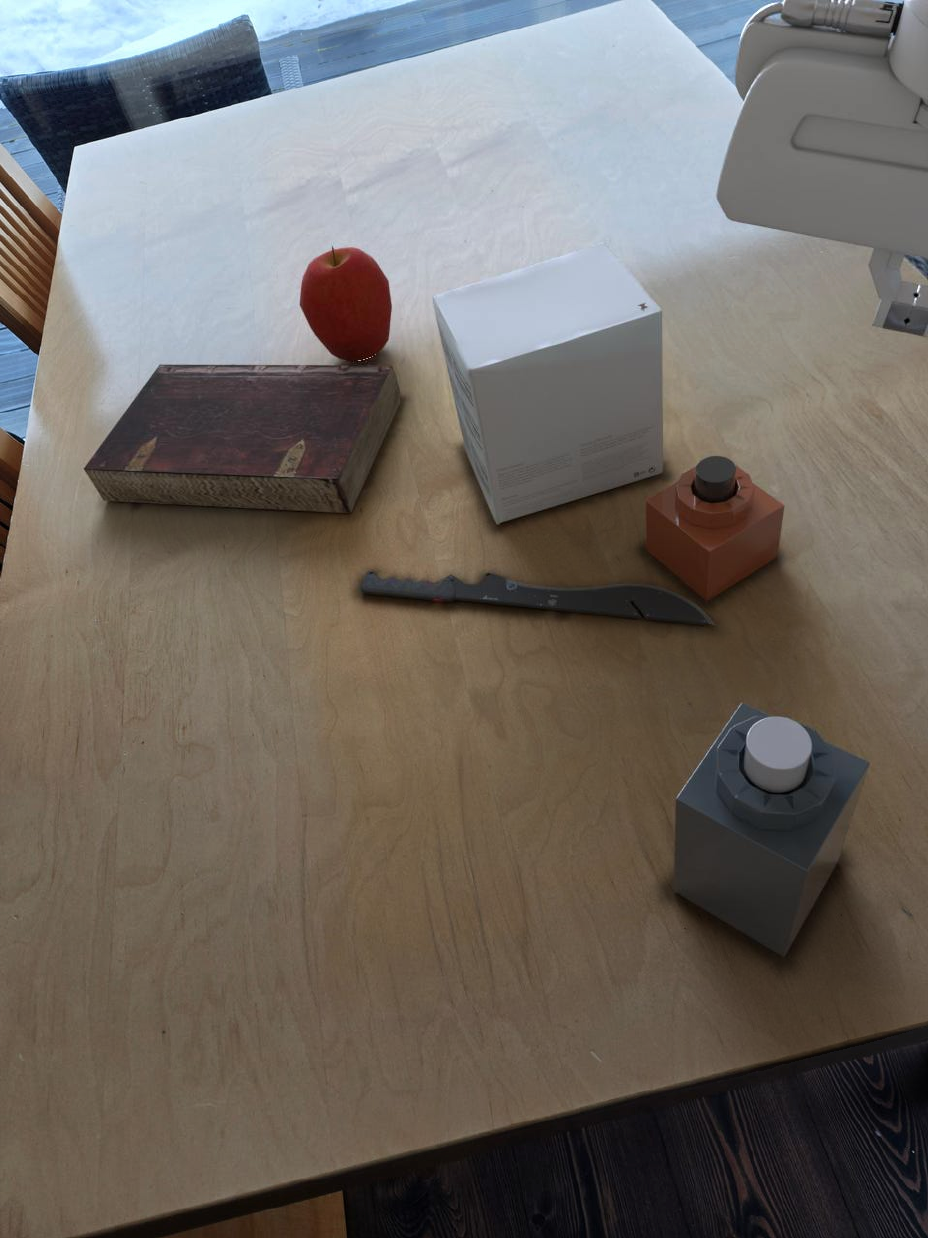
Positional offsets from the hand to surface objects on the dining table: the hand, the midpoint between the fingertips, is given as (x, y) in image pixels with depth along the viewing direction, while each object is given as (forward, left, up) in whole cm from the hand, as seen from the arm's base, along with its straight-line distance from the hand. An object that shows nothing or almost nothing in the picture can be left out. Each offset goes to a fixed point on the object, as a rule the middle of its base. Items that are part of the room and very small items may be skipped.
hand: (903, 325), depth 46 cm
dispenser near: (-3, +15, -33) cm, 37 cm away
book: (+64, 0, -33) cm, 73 cm away
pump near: (-3, +15, -19) cm, 24 cm away
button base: (+14, -10, -33) cm, 37 cm away
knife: (+25, +2, -33) cm, 42 cm away
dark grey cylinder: (+14, -10, -26) cm, 31 cm away
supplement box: (+33, -14, -33) cm, 49 cm away
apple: (+65, -19, -33) cm, 76 cm away
